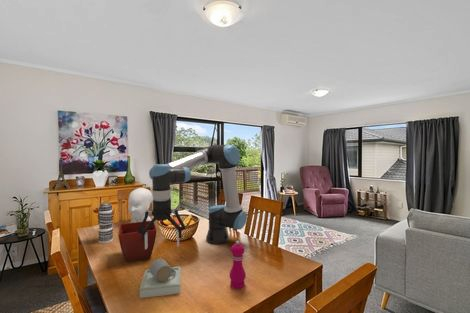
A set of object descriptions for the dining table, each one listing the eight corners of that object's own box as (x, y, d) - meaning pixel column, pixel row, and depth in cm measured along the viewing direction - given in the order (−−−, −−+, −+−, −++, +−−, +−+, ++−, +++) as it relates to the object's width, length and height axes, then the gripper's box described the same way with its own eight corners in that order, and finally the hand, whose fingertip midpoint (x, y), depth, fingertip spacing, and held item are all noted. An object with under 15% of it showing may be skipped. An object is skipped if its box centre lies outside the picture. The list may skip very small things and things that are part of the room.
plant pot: (118, 266, 124) (118, 234, 123) (119, 252, 141) (119, 223, 141) (156, 259, 131) (156, 229, 131) (153, 247, 149) (153, 220, 148)
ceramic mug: (156, 285, 100) (156, 267, 100) (149, 277, 107) (149, 260, 107) (179, 277, 107) (179, 260, 107) (171, 270, 114) (171, 254, 114)
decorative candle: (114, 241, 158) (114, 203, 157) (98, 244, 153) (98, 205, 152) (112, 237, 166) (112, 201, 165) (97, 239, 160) (97, 202, 160)
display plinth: (180, 274, 116) (180, 266, 116) (180, 293, 100) (180, 284, 100) (145, 277, 112) (145, 269, 112) (139, 298, 97) (139, 288, 97)
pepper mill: (228, 281, 110) (229, 238, 110) (244, 280, 111) (244, 237, 110) (229, 290, 103) (230, 244, 102) (246, 289, 103) (246, 243, 103)
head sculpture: (119, 228, 184) (119, 189, 184) (136, 220, 207) (136, 185, 206) (143, 230, 181) (143, 190, 180) (157, 221, 203) (157, 186, 203)
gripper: (190, 196, 112) (190, 240, 113) (133, 198, 107) (134, 245, 107) (190, 199, 105) (191, 247, 105) (129, 202, 99) (130, 252, 100)
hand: (162, 246), depth 106 cm, fingers open, 13 cm apart
